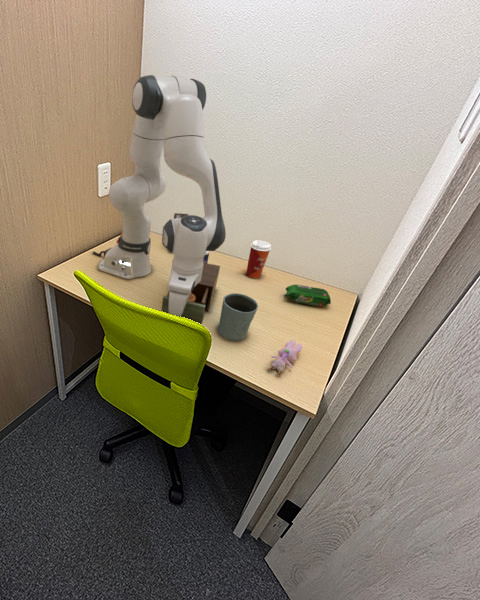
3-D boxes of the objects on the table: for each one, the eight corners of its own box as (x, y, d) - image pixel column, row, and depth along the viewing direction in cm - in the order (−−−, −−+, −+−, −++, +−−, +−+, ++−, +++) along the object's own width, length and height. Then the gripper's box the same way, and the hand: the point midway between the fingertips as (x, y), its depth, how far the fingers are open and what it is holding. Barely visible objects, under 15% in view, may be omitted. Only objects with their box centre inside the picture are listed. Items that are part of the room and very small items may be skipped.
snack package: (281, 292, 128) (285, 280, 125) (327, 299, 124) (332, 288, 121) (282, 302, 123) (286, 290, 120) (330, 310, 119) (336, 298, 116)
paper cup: (256, 281, 135) (266, 249, 127) (239, 274, 140) (247, 243, 132) (266, 275, 139) (276, 244, 131) (249, 268, 144) (257, 237, 136)
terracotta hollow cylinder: (174, 314, 113) (176, 297, 109) (178, 305, 118) (181, 288, 114) (191, 318, 112) (194, 301, 108) (194, 309, 116) (197, 292, 112)
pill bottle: (196, 268, 143) (199, 248, 137) (192, 262, 147) (195, 242, 142) (208, 268, 144) (212, 247, 138) (204, 262, 148) (207, 241, 142)
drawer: (198, 336, 105) (202, 314, 100) (157, 326, 110) (159, 304, 105) (208, 305, 120) (212, 284, 115) (171, 297, 124) (174, 276, 119)
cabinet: (208, 312, 118) (213, 286, 112) (167, 302, 123) (170, 277, 116) (215, 289, 130) (220, 265, 124) (178, 282, 134) (181, 258, 128)
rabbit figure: (282, 382, 93) (307, 351, 100) (287, 369, 89) (312, 337, 96) (261, 370, 97) (286, 341, 104) (265, 357, 93) (290, 327, 100)
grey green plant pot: (214, 321, 113) (220, 292, 106) (245, 323, 112) (253, 294, 106) (219, 341, 105) (226, 310, 98) (252, 344, 104) (262, 313, 97)
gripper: (183, 255, 107) (178, 292, 114) (166, 287, 91) (161, 327, 99) (203, 259, 105) (197, 296, 112) (189, 292, 89) (183, 332, 97)
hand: (180, 311), depth 106 cm, fingers closed
